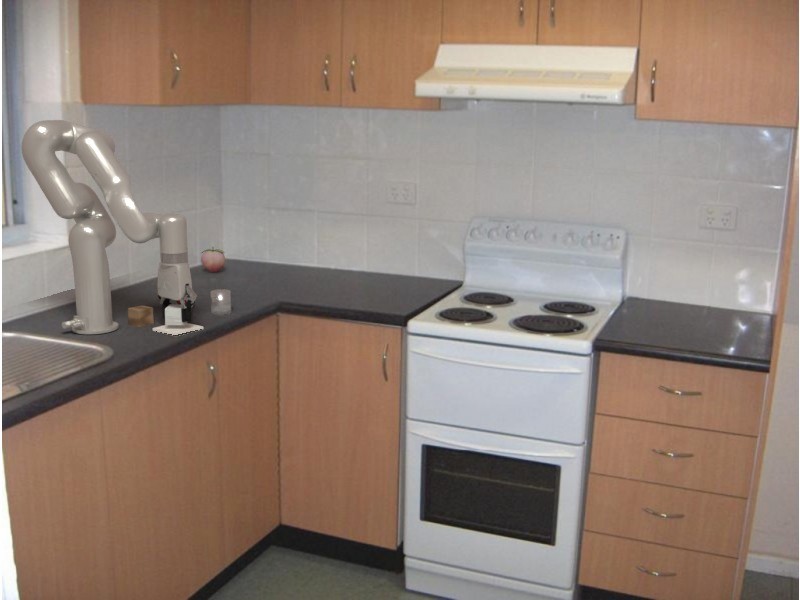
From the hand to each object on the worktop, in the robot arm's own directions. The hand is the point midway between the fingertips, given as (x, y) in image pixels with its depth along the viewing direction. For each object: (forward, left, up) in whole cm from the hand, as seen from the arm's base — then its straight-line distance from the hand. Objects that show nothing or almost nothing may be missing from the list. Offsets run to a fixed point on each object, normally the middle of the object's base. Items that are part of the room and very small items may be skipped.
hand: (177, 318), depth 250 cm
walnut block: (-2, +14, -3) cm, 14 cm away
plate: (0, 0, -3) cm, 3 cm away
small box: (0, 0, -1) cm, 1 cm away
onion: (+19, +19, -4) cm, 27 cm away
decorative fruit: (+67, +59, -4) cm, 89 cm away
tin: (+22, +6, -3) cm, 23 cm away
